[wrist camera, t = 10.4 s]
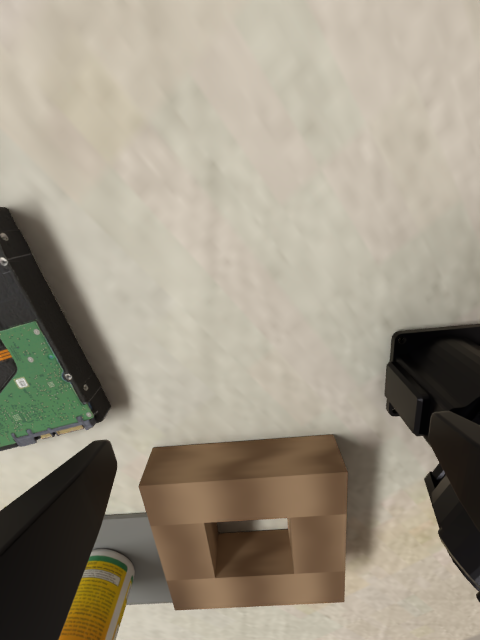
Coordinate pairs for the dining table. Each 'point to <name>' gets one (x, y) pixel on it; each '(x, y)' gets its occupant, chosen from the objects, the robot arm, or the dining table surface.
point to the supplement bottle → (100, 597)
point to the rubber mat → (136, 555)
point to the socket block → (249, 504)
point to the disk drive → (38, 354)
